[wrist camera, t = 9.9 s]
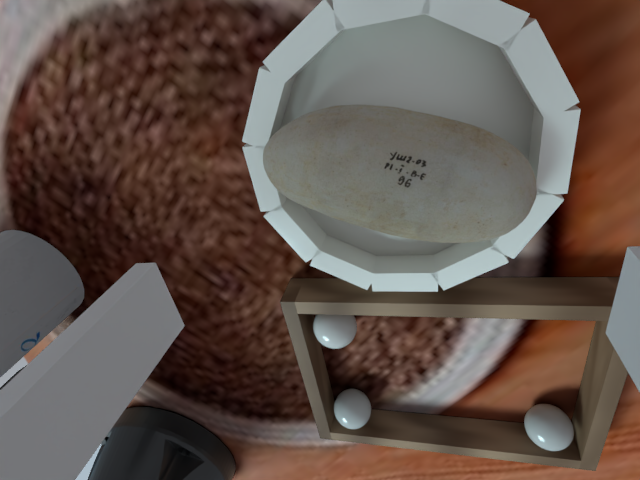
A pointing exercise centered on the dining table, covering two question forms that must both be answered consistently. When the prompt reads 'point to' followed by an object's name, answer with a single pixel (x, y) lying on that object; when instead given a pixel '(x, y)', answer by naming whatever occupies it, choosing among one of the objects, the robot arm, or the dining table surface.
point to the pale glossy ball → (352, 408)
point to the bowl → (420, 96)
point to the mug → (32, 293)
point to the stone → (402, 173)
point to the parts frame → (466, 302)
